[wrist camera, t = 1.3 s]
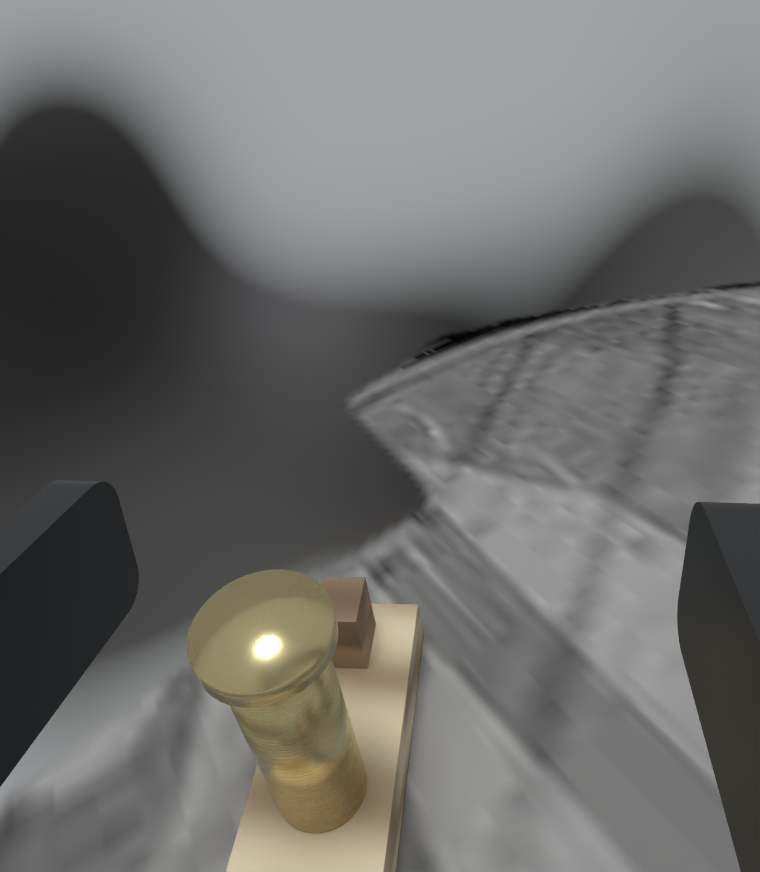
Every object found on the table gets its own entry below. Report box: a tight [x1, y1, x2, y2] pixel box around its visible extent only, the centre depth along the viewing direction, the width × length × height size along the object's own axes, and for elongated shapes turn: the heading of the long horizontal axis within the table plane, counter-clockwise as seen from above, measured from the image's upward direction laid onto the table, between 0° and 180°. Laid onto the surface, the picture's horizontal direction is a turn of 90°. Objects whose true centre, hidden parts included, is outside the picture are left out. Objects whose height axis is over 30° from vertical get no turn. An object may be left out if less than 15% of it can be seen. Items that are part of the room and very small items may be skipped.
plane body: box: [226, 577, 423, 872], centre depth 33 cm, size 22×7×7 cm, turn 172°
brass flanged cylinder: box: [187, 569, 367, 834], centre depth 30 cm, size 6×6×12 cm
